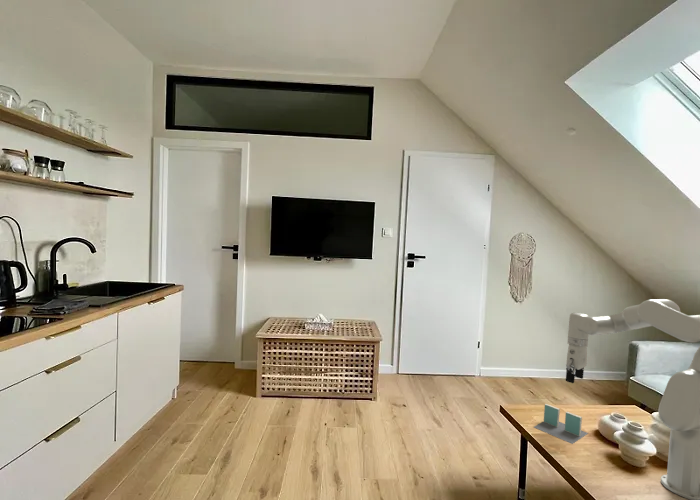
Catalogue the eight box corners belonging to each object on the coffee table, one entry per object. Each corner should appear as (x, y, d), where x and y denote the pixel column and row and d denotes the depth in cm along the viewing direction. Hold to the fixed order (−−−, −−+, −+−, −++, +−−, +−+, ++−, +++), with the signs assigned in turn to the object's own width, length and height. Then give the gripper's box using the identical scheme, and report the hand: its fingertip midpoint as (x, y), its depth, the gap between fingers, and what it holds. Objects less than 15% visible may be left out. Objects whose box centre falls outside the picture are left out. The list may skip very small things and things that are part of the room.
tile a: (580, 435, 159) (581, 417, 159) (579, 436, 159) (580, 417, 158) (565, 429, 164) (566, 411, 164) (564, 430, 163) (565, 412, 163)
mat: (588, 434, 162) (588, 433, 162) (572, 445, 152) (572, 443, 152) (550, 419, 175) (550, 418, 175) (533, 428, 165) (533, 427, 165)
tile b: (558, 426, 167) (559, 408, 166) (557, 427, 166) (558, 409, 166) (544, 420, 171) (545, 403, 171) (543, 421, 171) (544, 404, 170)
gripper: (579, 346, 155) (575, 387, 156) (594, 341, 166) (591, 378, 167) (560, 341, 161) (556, 380, 162) (576, 336, 172) (573, 373, 173)
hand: (574, 379), depth 164 cm, fingers open, 9 cm apart
